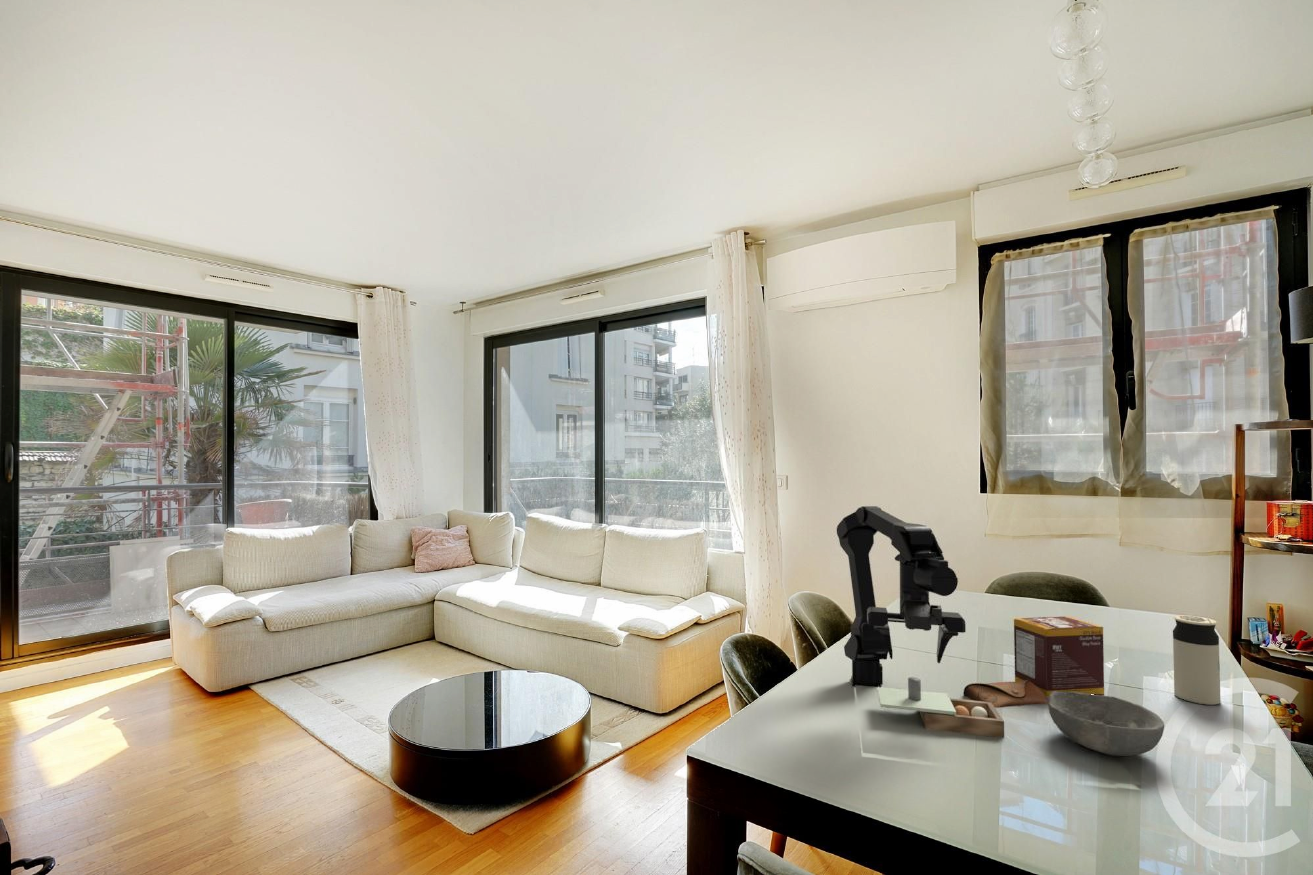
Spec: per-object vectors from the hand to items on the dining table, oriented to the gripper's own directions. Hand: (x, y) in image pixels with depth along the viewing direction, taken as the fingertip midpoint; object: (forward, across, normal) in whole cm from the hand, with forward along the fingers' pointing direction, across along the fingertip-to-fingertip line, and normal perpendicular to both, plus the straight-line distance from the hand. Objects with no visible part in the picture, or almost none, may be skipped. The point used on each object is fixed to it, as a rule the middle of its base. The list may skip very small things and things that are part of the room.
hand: (914, 660), depth 132 cm
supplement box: (+12, +35, +28) cm, 47 cm away
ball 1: (+11, +9, -1) cm, 14 cm away
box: (+12, +8, -2) cm, 14 cm away
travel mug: (+12, +63, +30) cm, 71 cm away
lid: (+8, 0, -2) cm, 8 cm away
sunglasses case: (+12, +22, +16) cm, 29 cm away
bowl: (+12, +32, -6) cm, 35 cm away
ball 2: (+11, +12, 0) cm, 16 cm away
